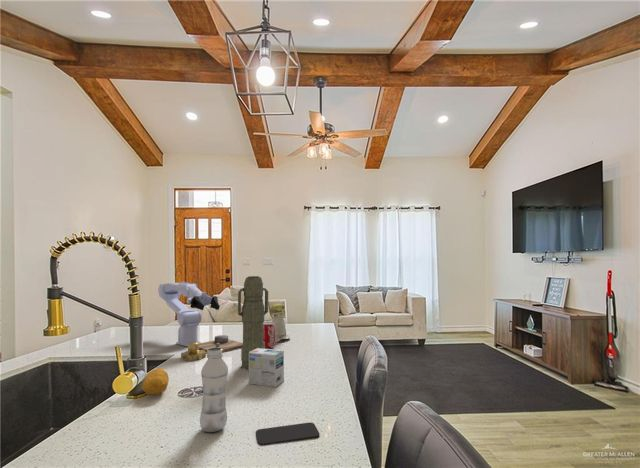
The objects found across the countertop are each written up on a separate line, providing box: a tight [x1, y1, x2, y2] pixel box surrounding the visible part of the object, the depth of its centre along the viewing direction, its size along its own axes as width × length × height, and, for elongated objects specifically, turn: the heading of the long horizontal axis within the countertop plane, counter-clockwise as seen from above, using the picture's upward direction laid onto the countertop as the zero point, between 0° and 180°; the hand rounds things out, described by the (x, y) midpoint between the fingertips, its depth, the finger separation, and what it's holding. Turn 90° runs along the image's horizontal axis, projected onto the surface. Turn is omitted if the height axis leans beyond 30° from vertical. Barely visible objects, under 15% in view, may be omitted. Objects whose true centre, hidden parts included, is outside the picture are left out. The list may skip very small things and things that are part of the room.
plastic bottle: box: [199, 348, 229, 433], centre depth 93 cm, size 6×7×20 cm
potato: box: [141, 367, 170, 396], centre depth 117 cm, size 8×14×7 cm, turn 23°
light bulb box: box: [247, 348, 285, 388], centre depth 126 cm, size 11×7×11 cm, turn 71°
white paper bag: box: [268, 302, 291, 344], centre depth 187 cm, size 12×13×18 cm
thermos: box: [237, 275, 269, 370], centre depth 145 cm, size 9×12×35 cm
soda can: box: [263, 321, 276, 350], centre depth 169 cm, size 7×7×12 cm
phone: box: [255, 421, 320, 446], centre depth 90 cm, size 7×1×15 cm
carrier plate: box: [199, 334, 243, 354], centre depth 172 cm, size 18×18×4 cm
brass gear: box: [180, 341, 207, 362], centre depth 156 cm, size 10×10×6 cm
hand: (211, 307), depth 164 cm, fingers open, 7 cm apart
